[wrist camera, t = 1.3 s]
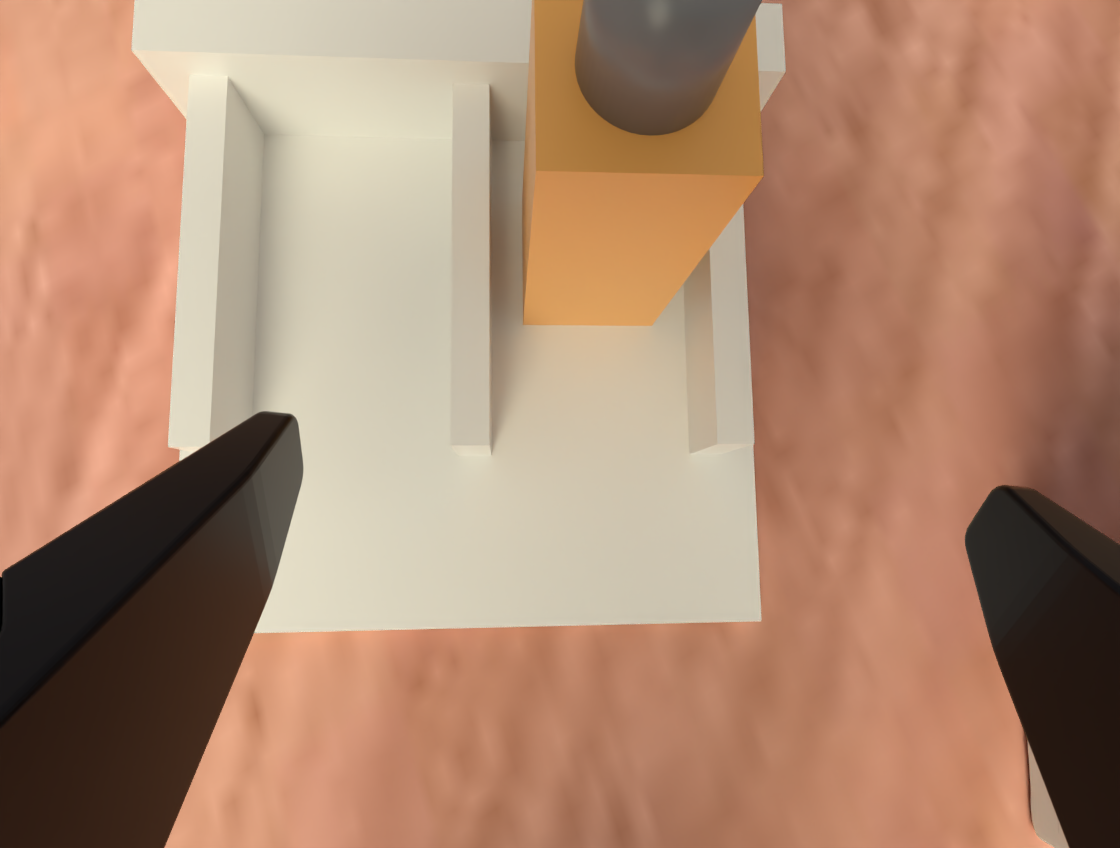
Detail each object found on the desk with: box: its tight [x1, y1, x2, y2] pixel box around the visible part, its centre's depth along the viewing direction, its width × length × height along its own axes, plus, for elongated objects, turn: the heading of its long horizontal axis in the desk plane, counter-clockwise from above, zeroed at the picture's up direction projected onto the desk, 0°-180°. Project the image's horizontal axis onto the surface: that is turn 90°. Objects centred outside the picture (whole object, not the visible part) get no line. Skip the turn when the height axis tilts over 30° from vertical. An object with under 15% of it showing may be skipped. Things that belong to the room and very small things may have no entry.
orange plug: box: [522, 0, 764, 326], centre depth 16 cm, size 4×4×13 cm
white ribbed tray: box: [131, 0, 786, 633], centre depth 21 cm, size 18×17×5 cm
